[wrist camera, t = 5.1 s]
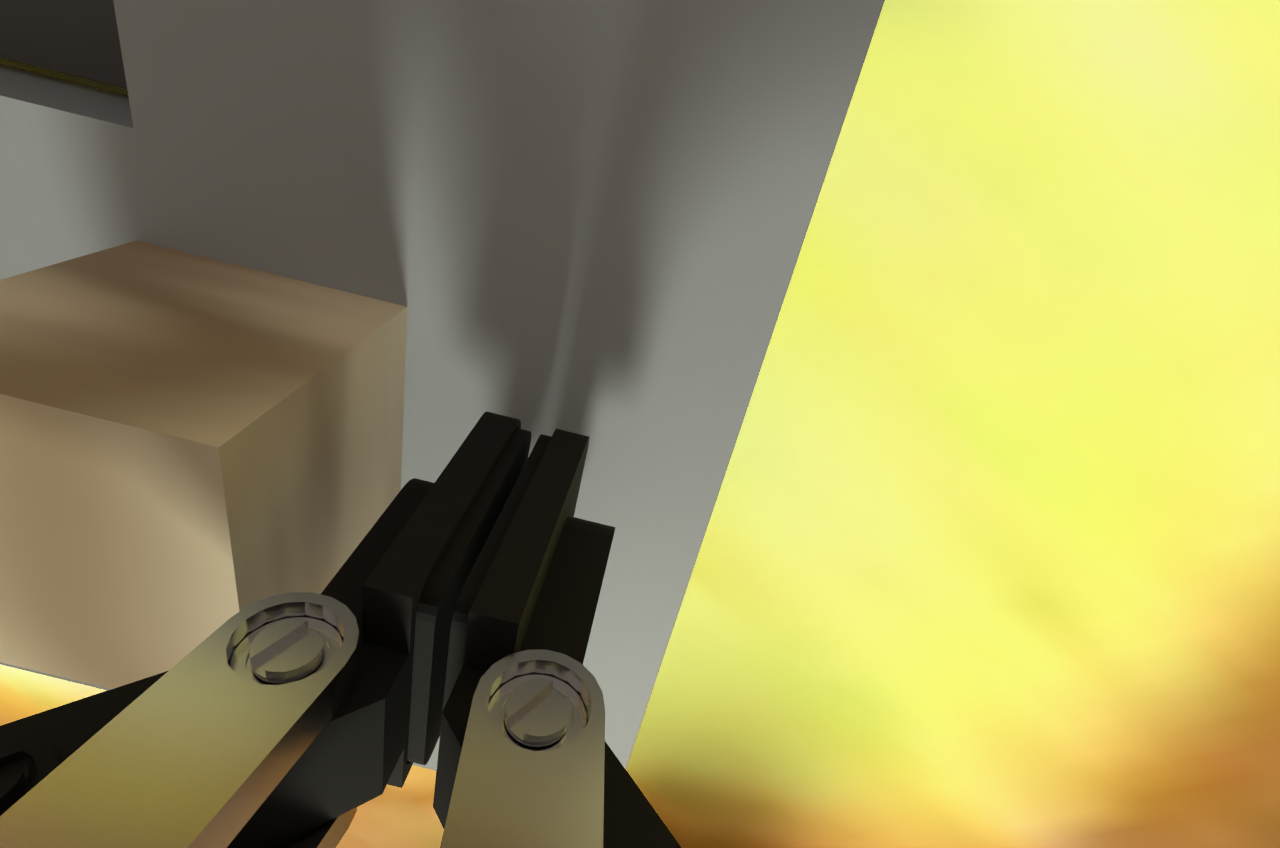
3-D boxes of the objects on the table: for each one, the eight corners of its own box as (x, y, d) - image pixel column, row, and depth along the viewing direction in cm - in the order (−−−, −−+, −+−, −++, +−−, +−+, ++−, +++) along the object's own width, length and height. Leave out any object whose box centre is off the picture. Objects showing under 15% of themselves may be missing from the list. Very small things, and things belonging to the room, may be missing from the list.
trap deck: (-352, 504, 18) (-467, 549, 16) (-1171, -710, 8) (-1665, -913, 7) (621, 742, 18) (610, 813, 17) (921, -191, 9) (972, -259, 7)
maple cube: (175, 467, 13) (-71, 644, 9) (136, 240, 11) (-213, 341, 7) (399, 522, 13) (254, 723, 9) (407, 307, 11) (218, 447, 7)
